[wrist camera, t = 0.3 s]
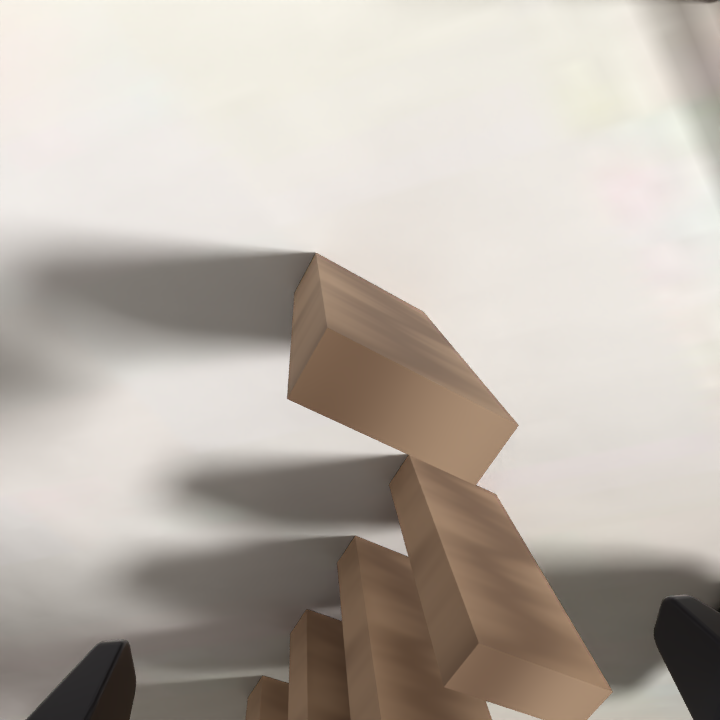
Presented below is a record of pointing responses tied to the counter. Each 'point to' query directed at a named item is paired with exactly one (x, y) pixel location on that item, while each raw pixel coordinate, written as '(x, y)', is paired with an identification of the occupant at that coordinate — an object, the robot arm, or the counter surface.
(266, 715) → the domino
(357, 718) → the domino
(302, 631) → the domino
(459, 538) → the domino
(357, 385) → the domino
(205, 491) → the counter surface
